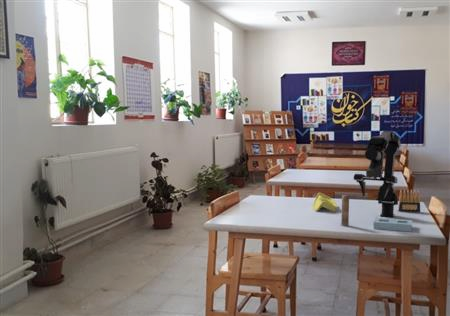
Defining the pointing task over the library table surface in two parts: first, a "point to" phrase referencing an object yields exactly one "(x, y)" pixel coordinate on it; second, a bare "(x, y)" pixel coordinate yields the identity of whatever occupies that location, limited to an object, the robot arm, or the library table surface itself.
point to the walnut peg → (345, 210)
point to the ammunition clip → (407, 205)
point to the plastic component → (324, 202)
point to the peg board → (393, 224)
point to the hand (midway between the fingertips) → (373, 197)
